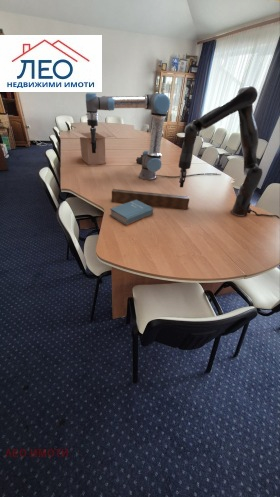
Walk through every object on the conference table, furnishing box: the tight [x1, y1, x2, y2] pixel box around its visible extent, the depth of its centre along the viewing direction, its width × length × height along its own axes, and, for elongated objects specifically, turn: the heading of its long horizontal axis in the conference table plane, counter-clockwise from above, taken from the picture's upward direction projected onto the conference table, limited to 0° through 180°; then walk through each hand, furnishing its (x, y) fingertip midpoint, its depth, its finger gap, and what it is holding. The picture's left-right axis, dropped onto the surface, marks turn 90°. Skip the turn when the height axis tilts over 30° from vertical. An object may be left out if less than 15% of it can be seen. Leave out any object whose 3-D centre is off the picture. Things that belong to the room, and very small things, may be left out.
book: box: [109, 200, 154, 226], centre depth 142 cm, size 23×16×5 cm
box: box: [70, 130, 114, 166], centre depth 229 cm, size 44×36×27 cm
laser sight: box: [135, 154, 143, 165], centre depth 237 cm, size 10×22×10 cm, turn 78°
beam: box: [111, 188, 190, 210], centre depth 157 cm, size 54×4×8 cm, turn 84°
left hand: (94, 150), depth 170 cm, fingers open, 13 cm apart
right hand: (180, 184), depth 148 cm, fingers open, 8 cm apart
